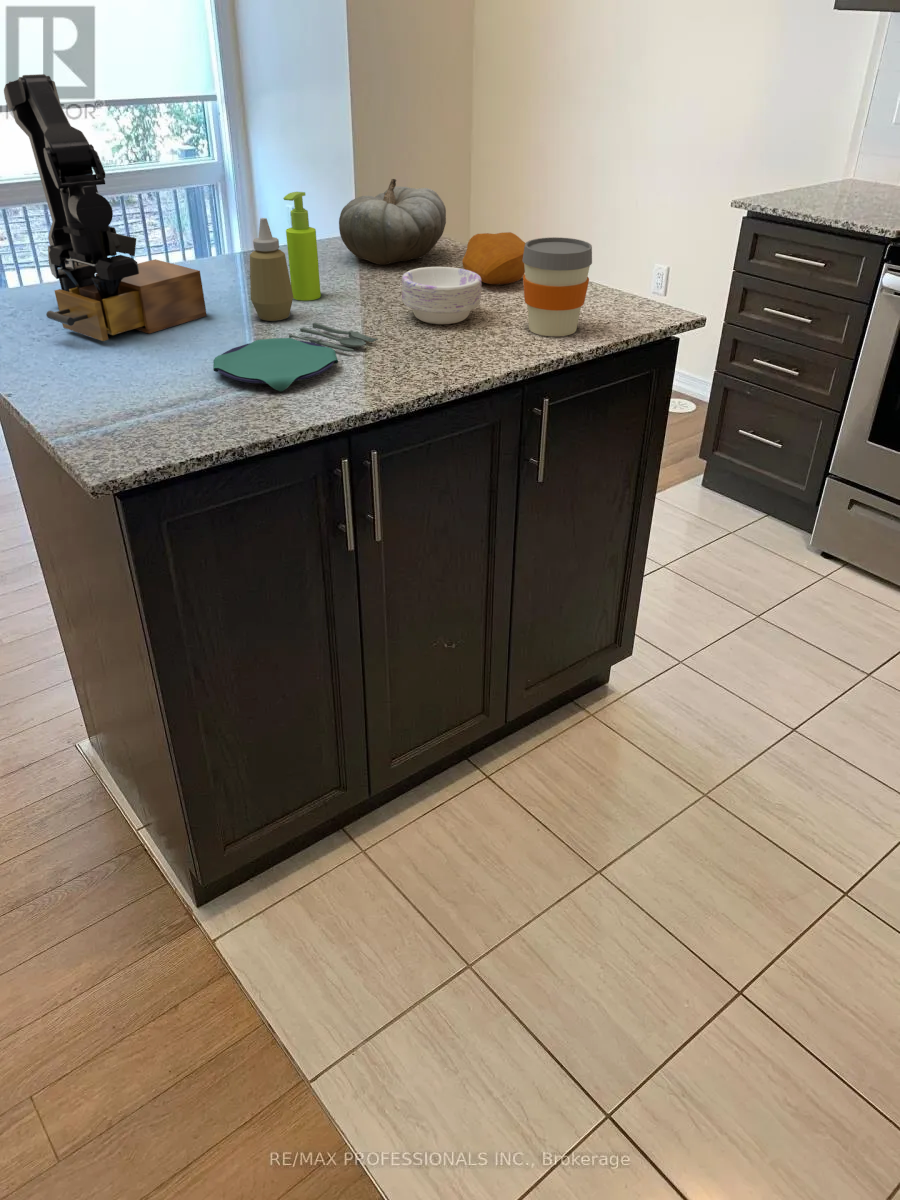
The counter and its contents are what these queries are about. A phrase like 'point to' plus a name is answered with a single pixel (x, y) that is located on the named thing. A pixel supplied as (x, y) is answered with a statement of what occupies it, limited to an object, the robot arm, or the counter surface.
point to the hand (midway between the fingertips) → (103, 309)
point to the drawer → (98, 313)
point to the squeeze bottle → (269, 277)
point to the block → (93, 295)
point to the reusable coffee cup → (555, 283)
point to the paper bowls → (441, 293)
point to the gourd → (393, 224)
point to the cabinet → (167, 294)
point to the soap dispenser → (302, 252)
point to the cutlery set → (285, 357)
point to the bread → (495, 257)
